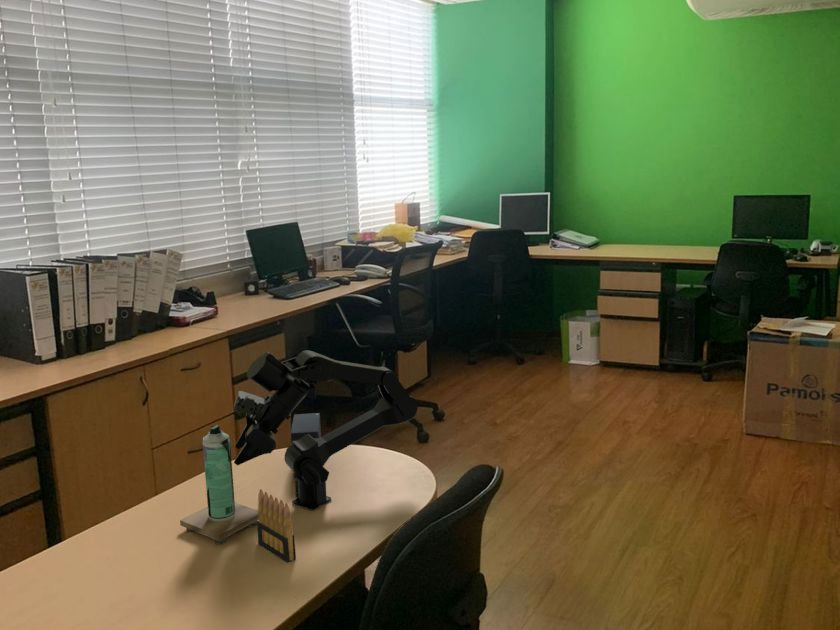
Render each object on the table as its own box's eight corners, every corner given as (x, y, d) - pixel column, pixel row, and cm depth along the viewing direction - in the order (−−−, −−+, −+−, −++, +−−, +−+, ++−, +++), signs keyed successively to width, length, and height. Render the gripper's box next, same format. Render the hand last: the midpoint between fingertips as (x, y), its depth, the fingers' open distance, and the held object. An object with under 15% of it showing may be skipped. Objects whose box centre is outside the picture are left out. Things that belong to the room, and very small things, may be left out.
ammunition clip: (296, 559, 151) (293, 502, 149) (288, 563, 150) (285, 506, 147) (265, 540, 159) (262, 486, 156) (257, 544, 157) (254, 489, 155)
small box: (295, 457, 200) (293, 413, 198) (322, 456, 201) (320, 412, 199) (293, 479, 188) (290, 432, 185) (321, 477, 188) (319, 430, 186)
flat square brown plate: (263, 522, 166) (262, 512, 166) (219, 546, 157) (218, 535, 156) (225, 508, 173) (224, 498, 172) (181, 531, 163) (179, 520, 163)
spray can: (239, 510, 167) (232, 421, 162) (230, 522, 161) (223, 431, 157) (214, 509, 167) (207, 421, 163) (204, 521, 162) (197, 430, 158)
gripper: (253, 367, 175) (208, 419, 175) (253, 392, 157) (203, 450, 157) (292, 396, 178) (247, 447, 178) (296, 424, 160) (246, 481, 160)
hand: (236, 455), depth 169 cm, fingers open, 9 cm apart
